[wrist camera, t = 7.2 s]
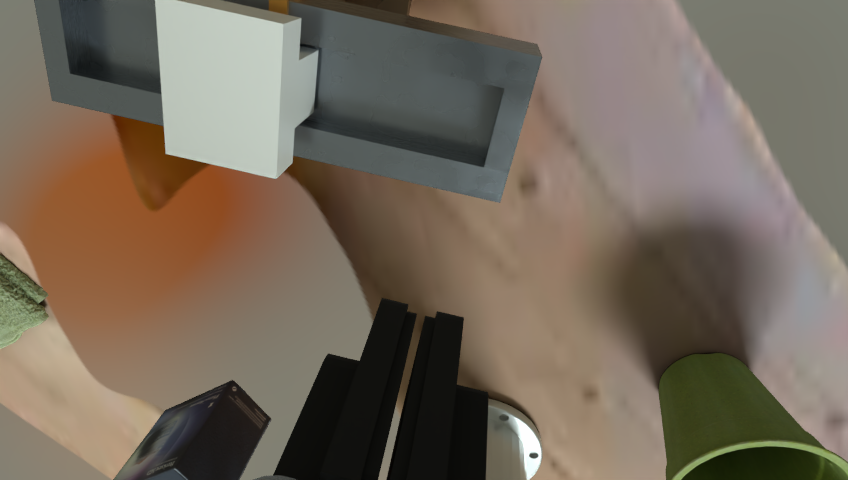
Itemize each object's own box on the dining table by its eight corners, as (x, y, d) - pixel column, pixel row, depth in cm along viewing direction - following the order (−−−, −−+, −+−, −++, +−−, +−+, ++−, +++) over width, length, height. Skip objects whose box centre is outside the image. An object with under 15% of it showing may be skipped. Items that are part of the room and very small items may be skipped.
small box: (232, 374, 51) (172, 467, 42) (274, 418, 53) (227, 515, 44) (161, 407, 55) (93, 499, 45) (204, 447, 57) (147, 541, 48)
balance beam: (542, -21, 31) (561, -7, 21) (491, 165, 37) (487, 247, 27) (168, -102, 31) (7, -127, 21) (178, 94, 37) (57, 148, 27)
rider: (321, 11, 23) (283, 24, 19) (310, 144, 27) (276, 179, 23) (214, -13, 24) (154, -5, 20) (217, 123, 27) (165, 153, 23)
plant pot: (811, 344, 40) (910, 470, 31) (738, 444, 46) (801, 576, 37) (661, 311, 41) (710, 424, 31) (608, 414, 47) (635, 536, 37)
